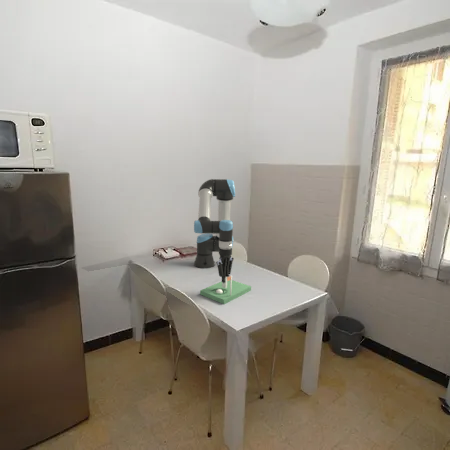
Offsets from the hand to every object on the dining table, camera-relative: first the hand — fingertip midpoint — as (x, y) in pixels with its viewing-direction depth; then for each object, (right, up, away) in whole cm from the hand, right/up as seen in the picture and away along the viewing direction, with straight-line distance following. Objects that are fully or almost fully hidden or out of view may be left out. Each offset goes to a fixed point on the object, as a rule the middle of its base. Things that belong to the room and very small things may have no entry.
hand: (224, 287), depth 171 cm
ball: (-3, -2, -3) cm, 5 cm away
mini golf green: (+1, -4, +2) cm, 4 cm away
